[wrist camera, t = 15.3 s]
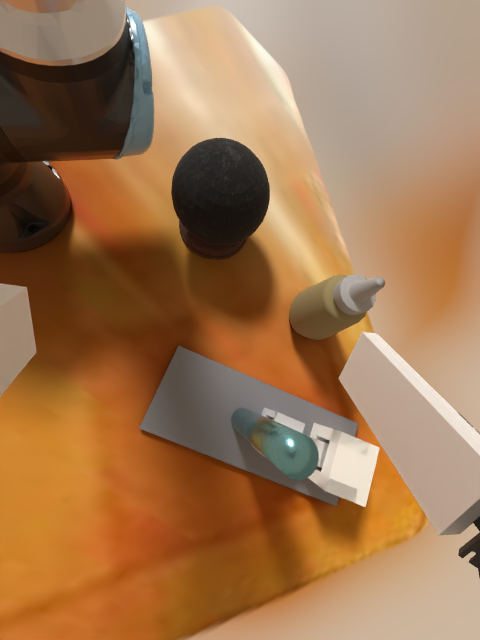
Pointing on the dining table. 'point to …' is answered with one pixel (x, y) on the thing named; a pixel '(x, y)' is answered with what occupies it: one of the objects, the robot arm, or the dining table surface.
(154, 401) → the socket
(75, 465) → the dining table surface
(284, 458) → the tube
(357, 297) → the squeeze bottle
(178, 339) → the dining table surface
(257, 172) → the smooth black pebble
